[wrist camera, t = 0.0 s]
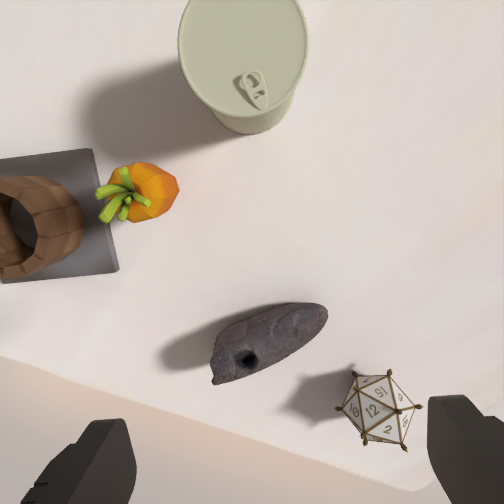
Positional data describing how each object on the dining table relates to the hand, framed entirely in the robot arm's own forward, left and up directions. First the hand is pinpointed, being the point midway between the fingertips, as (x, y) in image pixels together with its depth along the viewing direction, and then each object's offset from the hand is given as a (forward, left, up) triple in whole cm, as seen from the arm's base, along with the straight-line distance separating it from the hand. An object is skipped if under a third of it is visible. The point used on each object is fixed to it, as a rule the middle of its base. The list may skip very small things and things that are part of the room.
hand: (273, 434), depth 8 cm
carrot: (-6, -10, -30) cm, 32 cm away
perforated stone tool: (+12, -1, -30) cm, 32 cm away
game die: (+22, +11, -30) cm, 38 cm away
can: (-15, 0, -30) cm, 33 cm away
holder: (-4, -25, -29) cm, 39 cm away
